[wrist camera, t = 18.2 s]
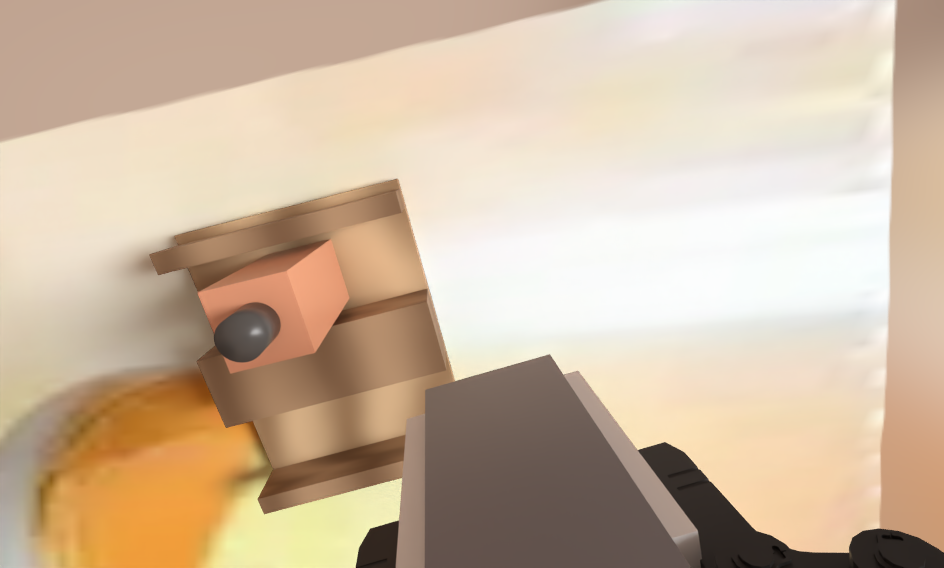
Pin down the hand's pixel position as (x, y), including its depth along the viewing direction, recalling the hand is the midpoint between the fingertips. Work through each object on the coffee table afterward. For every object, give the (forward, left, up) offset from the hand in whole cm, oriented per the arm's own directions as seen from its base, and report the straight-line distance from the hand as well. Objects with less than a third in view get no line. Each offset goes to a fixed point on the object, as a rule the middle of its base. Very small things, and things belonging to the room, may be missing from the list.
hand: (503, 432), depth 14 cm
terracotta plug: (-10, +4, -17) cm, 19 cm away
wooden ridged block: (-10, -1, -18) cm, 20 cm away
